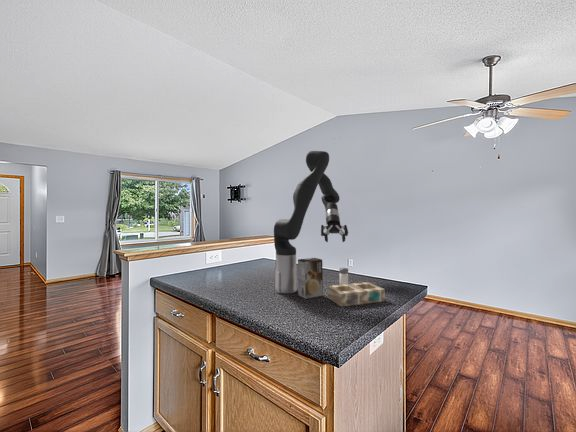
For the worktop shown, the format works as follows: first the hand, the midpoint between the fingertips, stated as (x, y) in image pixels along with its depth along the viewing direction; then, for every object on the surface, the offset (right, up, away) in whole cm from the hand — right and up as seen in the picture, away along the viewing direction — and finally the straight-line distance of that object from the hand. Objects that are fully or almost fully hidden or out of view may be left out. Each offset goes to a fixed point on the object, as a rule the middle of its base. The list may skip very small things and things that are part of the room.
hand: (335, 241), depth 150 cm
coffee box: (-15, -22, -23) cm, 35 cm away
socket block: (+4, -22, -29) cm, 37 cm away
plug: (+1, -22, -15) cm, 26 cm away
